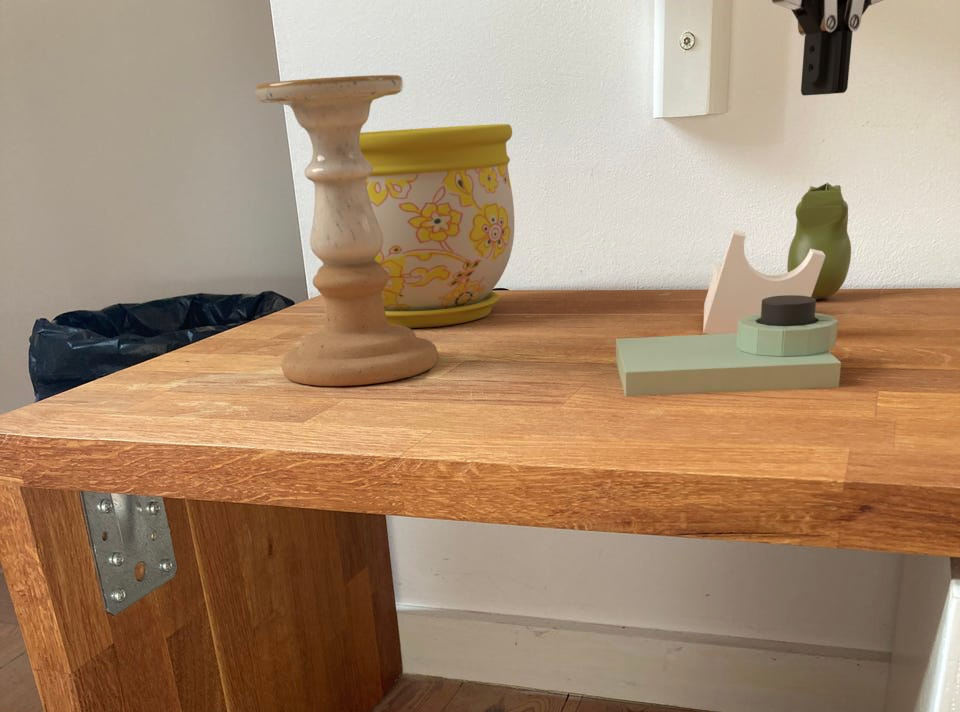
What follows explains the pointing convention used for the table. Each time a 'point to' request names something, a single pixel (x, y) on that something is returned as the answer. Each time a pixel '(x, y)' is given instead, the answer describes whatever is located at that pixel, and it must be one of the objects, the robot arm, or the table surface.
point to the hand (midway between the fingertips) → (823, 93)
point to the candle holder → (346, 240)
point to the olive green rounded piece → (823, 237)
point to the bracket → (751, 286)
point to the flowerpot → (441, 220)
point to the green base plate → (732, 359)
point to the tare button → (788, 310)
